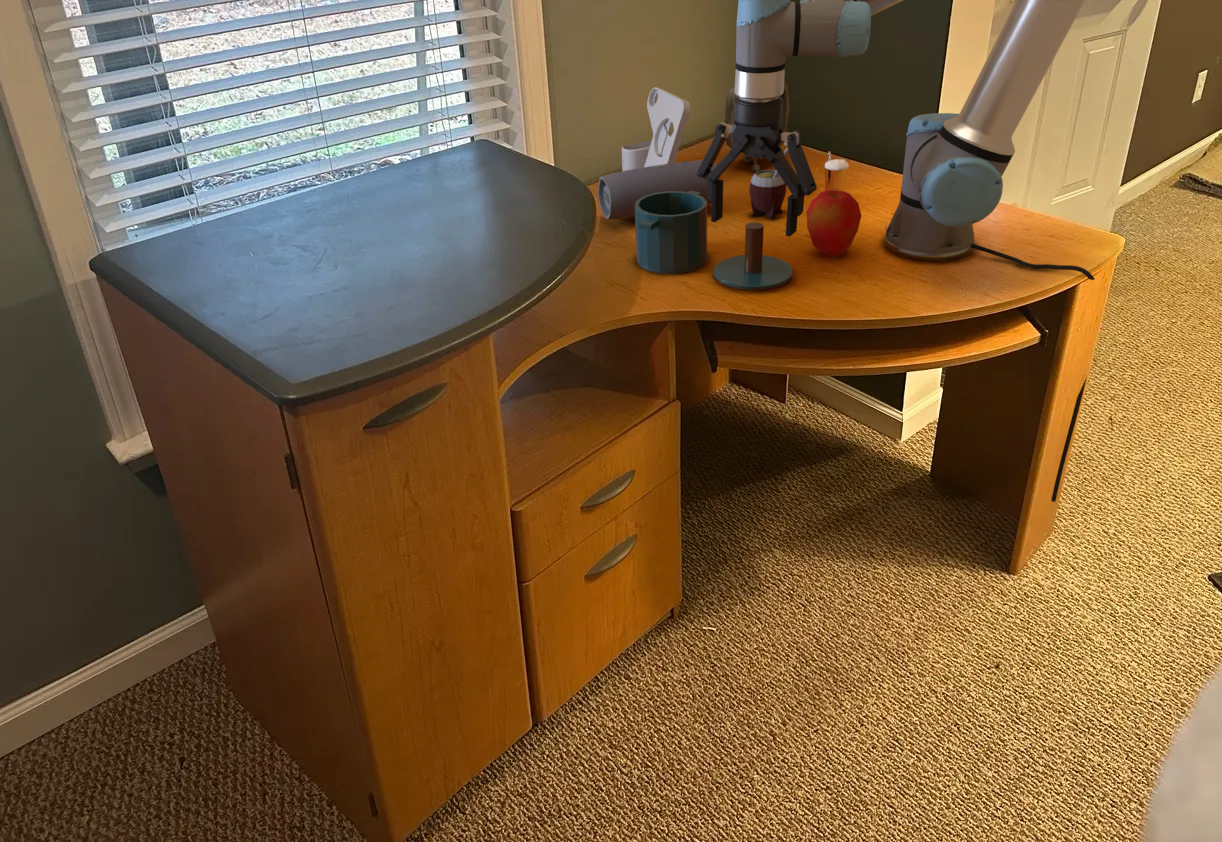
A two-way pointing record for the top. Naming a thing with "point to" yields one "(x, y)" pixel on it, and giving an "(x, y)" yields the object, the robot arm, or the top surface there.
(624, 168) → the phone holder
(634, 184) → the bluetooth speaker
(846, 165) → the milkshake
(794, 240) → the top surface
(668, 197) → the pot
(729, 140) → the tabletop clock
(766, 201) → the mate gourd
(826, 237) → the apple
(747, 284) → the lid
